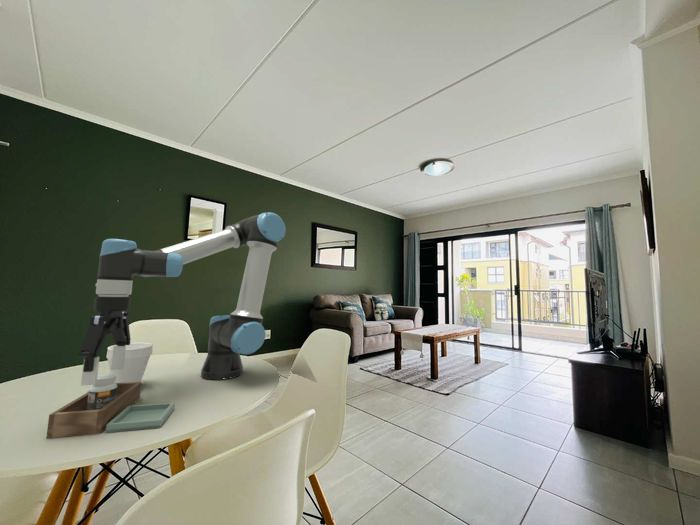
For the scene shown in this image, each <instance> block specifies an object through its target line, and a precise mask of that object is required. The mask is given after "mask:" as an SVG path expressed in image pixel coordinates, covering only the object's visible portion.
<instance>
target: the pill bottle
mask: <svg viewBox="0 0 700 525" xmlns="http://www.w3.org/2000/svg"><path fill="white" fill-rule="evenodd" d="M115 380H116V375H115V374H111V373H110V374H108V373H107V374H100V375H97V382H96V384H95V385H91V387H90V388H88V392H89V393H88V401H87V409H86V410H100V409H102V408H103V407H104V406H106V405H107V404H108V403H110V402H111V401H113V400H114V399H115V398H116V394H117V384H116V383H114V381H115Z"/></svg>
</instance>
